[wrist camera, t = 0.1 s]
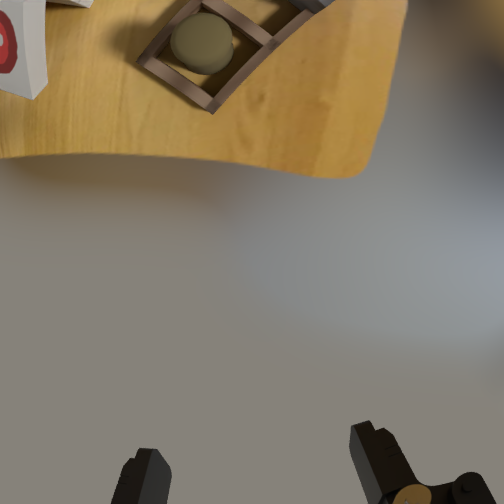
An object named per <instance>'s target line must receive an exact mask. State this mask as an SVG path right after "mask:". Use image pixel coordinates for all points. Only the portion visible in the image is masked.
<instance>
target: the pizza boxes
mask: <svg viewBox="0 0 504 504" xmlns="http://www.w3.org/2000/svg"><path fill="white" fill-rule="evenodd" d="M93 1H94V0H0V90H4V91H7V92H10V93H13V94H16V95H19V96H22V97H25V98H28V99H31V100H34V98H35V97H36V96H37V95H38V94H39V93H40V92H41V91H42V90H43V88H44V87H45V86H46V85H47V84H48V78H47V67H46V52H45V5H46V2H54V3H62V4H69V5H75V6H81V7H86V8H90V6H91V4H92V3H93Z"/></svg>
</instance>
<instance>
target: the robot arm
mask: <svg viewBox="0 0 504 504" xmlns="http://www.w3.org/2000/svg"><path fill="white" fill-rule="evenodd" d="M349 448H350V453H351V457H352V460H353V462H354V465H355V468H356V471H357V473H358V476H359V479H360V481H361V484H362V487H363V490H364V492H365V495H366V498H367V501H368V504H496V502H495V500H494V498H493V496H492V494H491V492H490V490H489V489H488V487H487V485H486V483H485V481H484V480H483V478H482V476H481V475H480V474H478V473H475V472H467V473H464V474H462V475H461V476H459V477H458V478H457V479H456V480H455V481H454V482H450V483H446V484H442V485H437V486H427V485H424V484H422V483H420V482H419V481H418V480H417V479H416V477H415V475H414V473H413V471H412V469H411V468H410V466H409V464H408V462H407V460H406V458H405V456H404V454H403V453H402V451H401V448H400V447H399V446H398V443H397V441H396V439H395V437H394V436H393V434H391V433H390V432H389V431H388V430H386V429H385V428H381V429H379V430H376V431H375V429H374V427H373V425H372V423H371V422H370V421H369V420H368V421H365V422H362V423H358V424H355V425H352V426H351V434H350V443H349ZM120 475H121V477H119V481H118V484H117V486H116V489H115V492H114V495H113V498H112V501H111V504H167V499H168V494H169V488H170V483H171V478H172V475H171V469H170V466H169V465H168V464H167V462H166V461H165V460H164V458H163V457H162V455H161V454H160V452H159V451H158V450H157V449H148V448H139V449H138V451H137V454H136V456H135V458H130V459H129V460H128V461H127V463H126V464H125V465H124V466H123V468H122V471H121V474H120Z"/></svg>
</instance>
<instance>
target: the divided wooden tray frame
mask: <svg viewBox="0 0 504 504" xmlns="http://www.w3.org/2000/svg"><path fill="white" fill-rule="evenodd" d="M288 1H289V2H290V3H292V4H293V5H294V6H295V7H297V8H298V9H299V10H300V11H302V12H301V13H300V14H299V15H297V16H296V17H295V18H294V19H293V20H291V21H290V22H289V23H288V24H287V25H286V26H285V27H283V28H282V29H281V30H280V31H279V32H278V33H277V34H276V35H275V36H273V37H272V36H271V35H270V34H269V33H267V32H266V31H265V30H263V29H262V28H261V27H260V26H258V25H257V24H256V23H254V22H253V21H251V20H250V19H249V18H247V17H246V16H245V15H243V14H242V13H240V12H239V11H237V10H236V9H234V8H233V7H231V6H230V5H228V4H227V3H225V2H224V1H222V0H190V1H189V2H188V3H187V4H186V5H185V6H184V7H183V8H182V9H181V10H180V11H179V12H178V13H177V14H176V15H175V16H174V17H173V18H172V19H171V20H170V21H169V22H168V23H167V24H166V26H165V27H164V28H163V29H162V30H161V31H160V32H159V33H158V35H157V36H156V37H155V38H154V39H153V40H152V42H151V43H150V44H149V45H148V46H147V48H146V49H145V50H144V51H143V53H142V54H141V55H140V56H139V58H138V59H137V60H136V63H138V64H140V65H141V66H143V67H144V68H146V69H148V70H149V71H151V72H152V73H154V74H155V75H157V76H158V77H160V78H161V79H163V80H164V81H166V82H167V83H169V84H170V85H172V86H173V87H175V88H176V89H178V90H179V91H180V92H182V93H183V94H185V95H186V96H188V97H189V98H190V99H192V100H193V101H195V102H196V103H197V104H199V105H200V106H201V107H203V108H204V109H206V110H207V111H208V112H210V113H211V114H212V115H213V114H214V113H215V112H216V111H217V110H218V108H219V107H220V106H221V105H222V104H223V103H224V102H225V101H226V99H227V98H228V97H229V96H230V95H231V94H232V93H233V92H234V91H235V90H236V88H237V87H238V86H239V85H240V84H241V83H242V82H243V81H244V80H245V79H246V78H247V77H248V76H249V75H250V74H251V73H252V72H253V71H254V70H255V69H256V68H257V67H258V66H259V65H260V64H261V63H262V62H263V61H264V60H265V59H266V58H267V57H268V56H269V55H270V54H271V53H272V52H273V51H274V50H275V49H276V48H277V47H278V46H279V45H280V44H281V43H283V42H284V41H285V40H286V39H287V38H288V37H289V36H290V35H291V34H292V33H294V32H295V31H296V30H297V29H298V28H299V27H300V26H302V25H303V24H304V23H305V22H306V21H308V20H309V19H310V18H311V17H312V16H314V15H315V14H316V13H318V12H319V11H321V10H322V9H324V8H326V7H327V6H328V5H330V4H331V3H332V2H333V1H335V0H288ZM202 7H204V8H205V9H207V10H208V11H210V12H212V13H213V14H215V15H216V16H219V17H221V18H222V19H223V20H224V21H226V22H227V23H228V24H229V25H231V26H232V27H234V28H235V29H237V30H238V31H239V32H241V33H242V34H243V35H245V36H246V37H247V38H249V39H250V40H251V41H253V42H254V43H255V44H257V45H258V46H259V47H260V48H261V49H260V50H259V51H258V52H257V53H256V54H254V55H253V56H252V57H251V58H250V59H249V60H248V61H247V62H246V64H245V65H244V66H243V67H242V68H241V69H240V70H239V71H238V72H237V73H236V74H235V75H234V76H233V77H232V78H231V79H230V80H229V81H228V82H227V84H226V85H225V86H224V87H223V88H222V89H221V90H220V91H219V92H218V94H217V95H216V96H215V97H212V96H211V95H210V94H208V93H207V92H206V91H204V90H203V89H201V88H200V87H199V86H197V85H196V84H194V83H193V82H192V81H190V80H189V79H187V78H186V77H184V76H183V75H181V74H180V73H179V72H177V71H176V70H174V69H173V68H171V67H170V66H168V65H167V64H165V63H163V62H162V61H160V60H159V59H157V58H156V57H157V56H158V55H159V54H160V53H161V51H162V50H163V49H164V48H165V47H166V45H167V44H168V43H169V42H170V39H171V35H172V32H173V30H174V28H175V27H176V25H177V24H178V23H179V22H180V21H182V20H183V19H184V18H186V17H188V16H190V15H193V14H196V13H197V12H198V11H199V10H200V9H201V8H202Z"/></svg>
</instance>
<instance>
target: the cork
mask: <svg viewBox="0 0 504 504" xmlns="http://www.w3.org/2000/svg"><path fill="white" fill-rule="evenodd" d="M170 43H171V49H172V51H173V53H174V55H175V56H176V57H177V58H178V59H179V60H180V61H181V62H183V63H184V64H185V66H186V67H187V68H188V69H189V70H191V71H192V72H195V73H197V74H202V75H210V74H215V73H217V72H220V71H222V70H223V69H224V68H225V67H227V66H228V65H229V63H230V61H231V60H232V57H233V53H234V49H233V44H232V31H231V29H230V27H229V25H228V23H227V22H226V21H224V20H223V19H222V18H221V17H219V16H216V15H214V14H210V13H198V14H193V15H190V16H188V17H186V18H184V19H183V20H182V21H180V22H179V23H178V24H177V25H176V27H175V28H174V30H173V32H172V35H171V39H170Z"/></svg>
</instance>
